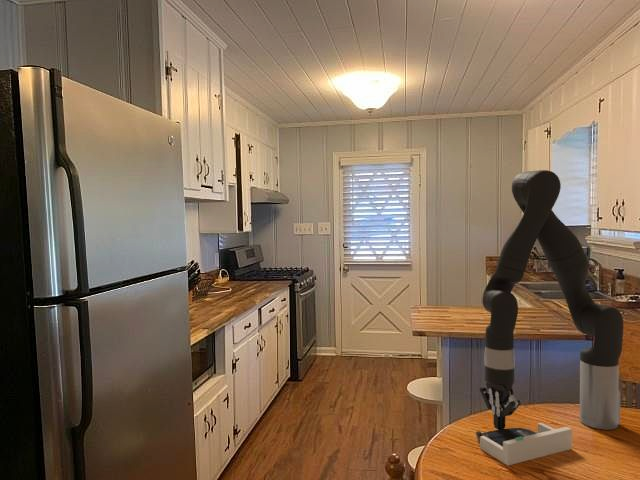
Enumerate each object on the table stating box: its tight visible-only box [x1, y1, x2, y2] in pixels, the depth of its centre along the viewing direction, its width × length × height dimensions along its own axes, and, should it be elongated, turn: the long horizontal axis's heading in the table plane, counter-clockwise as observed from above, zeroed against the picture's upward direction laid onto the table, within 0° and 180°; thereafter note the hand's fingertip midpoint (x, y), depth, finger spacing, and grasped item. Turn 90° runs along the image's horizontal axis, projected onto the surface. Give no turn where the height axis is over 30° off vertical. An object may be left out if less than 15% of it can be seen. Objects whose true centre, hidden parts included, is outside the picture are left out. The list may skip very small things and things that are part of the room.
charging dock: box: [479, 422, 573, 466], centre depth 118 cm, size 20×9×6 cm, turn 112°
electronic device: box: [475, 427, 538, 447], centre depth 121 cm, size 9×6×15 cm
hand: (499, 428), depth 126 cm, fingers closed
